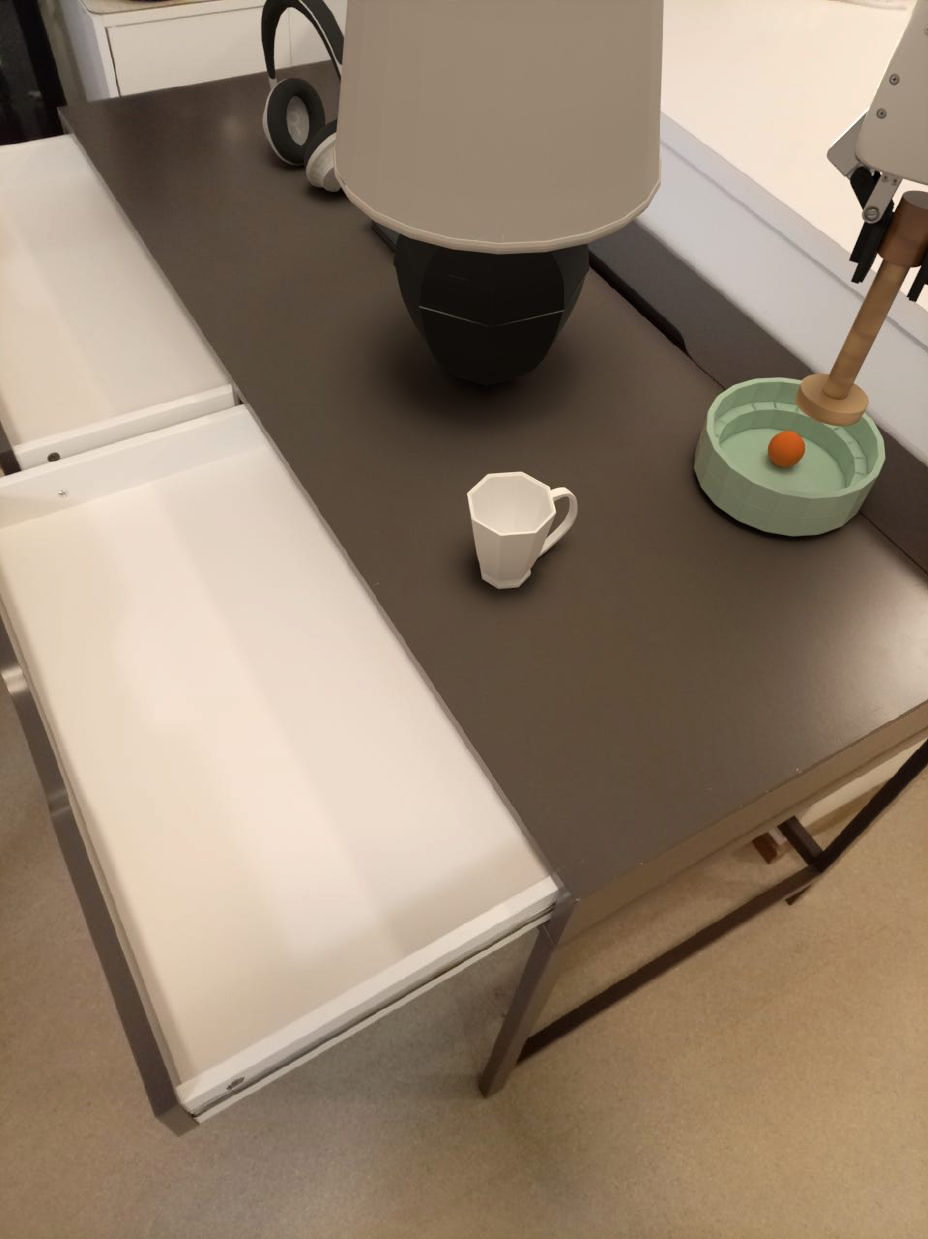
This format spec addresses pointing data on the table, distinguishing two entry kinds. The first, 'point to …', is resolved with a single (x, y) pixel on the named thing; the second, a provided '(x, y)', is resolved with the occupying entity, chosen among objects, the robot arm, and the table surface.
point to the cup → (514, 524)
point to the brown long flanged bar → (869, 317)
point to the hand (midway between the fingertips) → (889, 279)
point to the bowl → (773, 494)
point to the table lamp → (498, 158)
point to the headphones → (301, 96)
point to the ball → (786, 448)
